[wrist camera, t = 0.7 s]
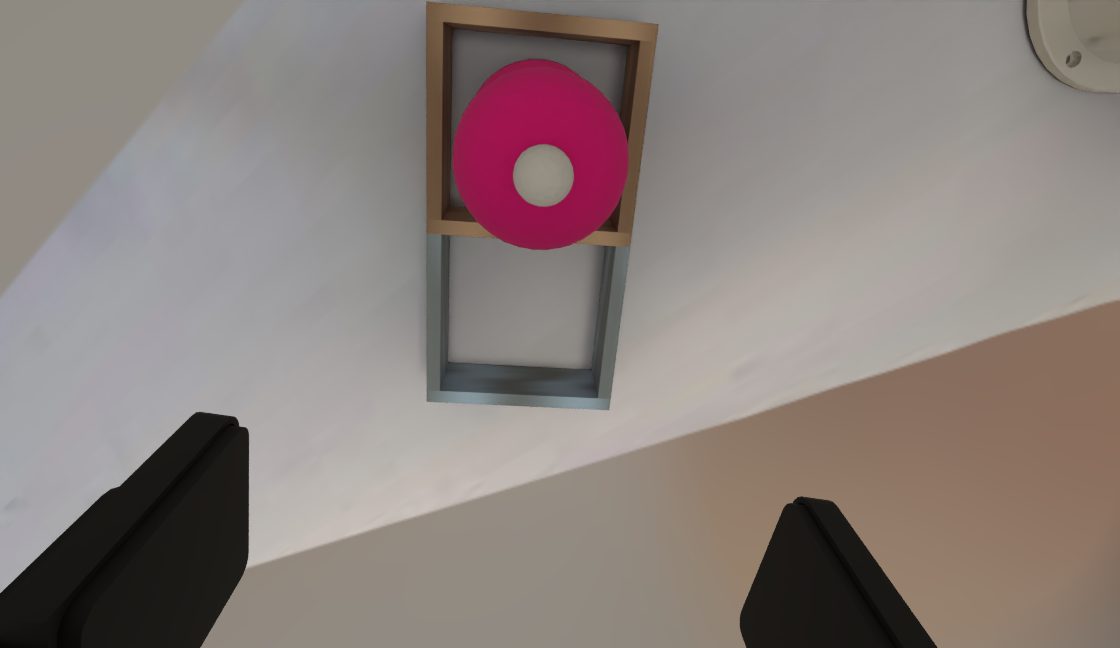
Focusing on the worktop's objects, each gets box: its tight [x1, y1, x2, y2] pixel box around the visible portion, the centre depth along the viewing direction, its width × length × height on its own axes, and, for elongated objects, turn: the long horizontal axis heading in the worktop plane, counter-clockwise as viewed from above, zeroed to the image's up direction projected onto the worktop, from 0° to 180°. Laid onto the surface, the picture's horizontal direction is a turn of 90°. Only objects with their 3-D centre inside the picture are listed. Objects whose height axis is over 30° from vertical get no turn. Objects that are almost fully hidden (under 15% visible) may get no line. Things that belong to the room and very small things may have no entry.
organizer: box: [426, 2, 658, 410], centre depth 35 cm, size 11×22×4 cm, turn 175°
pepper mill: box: [453, 59, 629, 250], centre depth 26 cm, size 7×7×20 cm
